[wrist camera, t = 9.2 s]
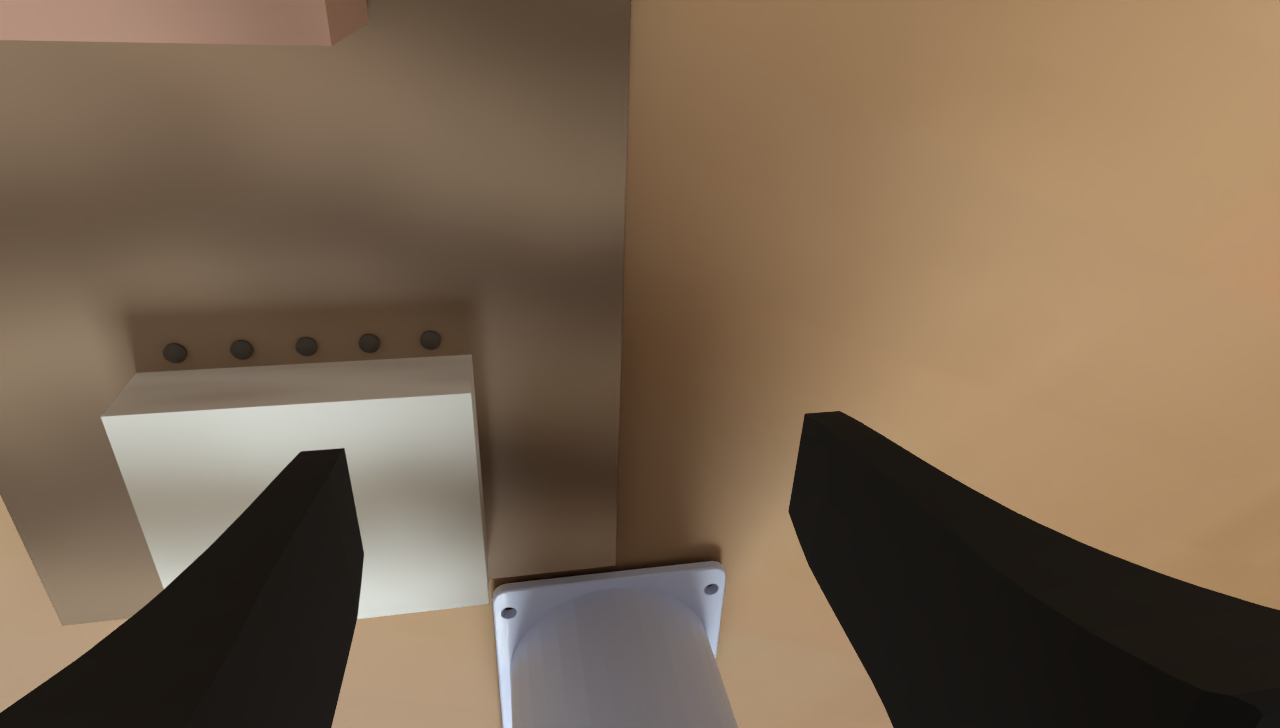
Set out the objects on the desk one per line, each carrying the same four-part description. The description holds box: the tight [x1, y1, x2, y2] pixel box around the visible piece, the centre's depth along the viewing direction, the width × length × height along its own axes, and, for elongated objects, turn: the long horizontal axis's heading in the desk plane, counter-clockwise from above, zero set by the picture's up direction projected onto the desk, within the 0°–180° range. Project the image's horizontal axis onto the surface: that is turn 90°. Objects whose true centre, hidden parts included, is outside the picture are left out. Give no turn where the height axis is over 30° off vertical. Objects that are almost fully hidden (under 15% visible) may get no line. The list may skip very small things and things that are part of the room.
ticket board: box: [0, 0, 631, 626], centre depth 17 cm, size 22×16×3 cm
